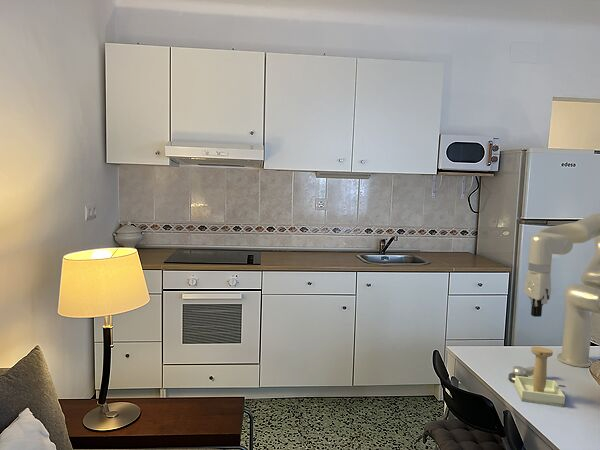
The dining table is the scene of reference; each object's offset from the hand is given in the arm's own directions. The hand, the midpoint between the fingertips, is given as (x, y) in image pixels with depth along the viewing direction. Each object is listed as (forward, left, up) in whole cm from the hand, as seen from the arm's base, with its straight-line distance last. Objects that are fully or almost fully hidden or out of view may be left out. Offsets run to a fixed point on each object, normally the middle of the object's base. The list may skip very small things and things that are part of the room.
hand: (536, 315), depth 179 cm
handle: (+22, -2, -21) cm, 30 cm away
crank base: (+11, -1, -22) cm, 24 cm away
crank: (+9, -3, -20) cm, 22 cm away
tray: (+22, -2, -22) cm, 31 cm away
